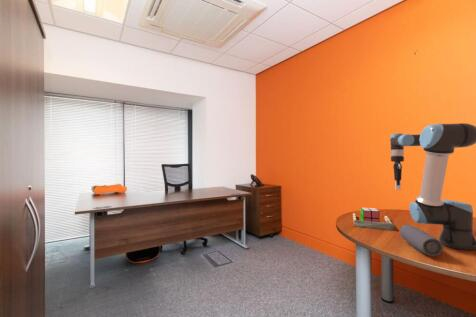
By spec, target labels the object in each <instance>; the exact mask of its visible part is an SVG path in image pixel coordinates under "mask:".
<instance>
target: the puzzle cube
mask: <svg viewBox="0 0 476 317" xmlns="http://www.w3.org/2000/svg"><path fill="white" fill-rule="evenodd" d="M380 217H381V216H380V210H378V209H377V208H374V207H360V221H370V222H381V221H380Z"/></svg>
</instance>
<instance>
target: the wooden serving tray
mask: <svg viewBox="0 0 476 317" xmlns="http://www.w3.org/2000/svg"><path fill="white" fill-rule="evenodd" d="M352 219H353V227H355V226H356V227H357V228H364V227H365V228H366V229H376V230H377V229H378V230H385V231H386V230H387V231H395V223H392V221H391V220H390V218H389V217H388V216H387V215H384V217H383V219H384V220H385V222H381V221H380V222H370V221H361V220H360V219H359V220H358V219H357V216H356V213H355V212H352ZM356 227H355V228H356Z"/></svg>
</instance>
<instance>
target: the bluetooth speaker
mask: <svg viewBox="0 0 476 317" xmlns="http://www.w3.org/2000/svg"><path fill="white" fill-rule="evenodd" d="M399 236H400V237H401V238H402V239H403V240H405V242H407V243H408V244H410V245H411V247H412V248H413V249H415V250H416V251H417V252H419V253H420V254H425V255H428V256H430V257H437V256H440V255H441V254H442V253H443V250H444V245H443V244H441V242H440V241H439V239H437V238H436V237H434V236H432V235H431V234H429V233H427V232H426V231H424V230H422V229H420V228H419V227H416V226H414V225H410V224H403V225H402V226H401V227H400V228H399Z"/></svg>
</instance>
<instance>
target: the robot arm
mask: <svg viewBox="0 0 476 317" xmlns="http://www.w3.org/2000/svg"><path fill="white" fill-rule="evenodd" d="M389 140H390V151H389V153H390V162H391V163H393V162H394V164H393V166H392V167H393V175H394V176H393V177H394V178H393V179H394V183H395V185H394V187H395V188H394V189H395V191H401V187H402V186H401V185H402V184H401V181H402V172H403V171H402V170H403V165H402V163H401V162H405V156H404V155H405V149H404V148H405V147H421V148H422V149H423V152H424V153H426V156H425V161H424V167H423V174H422V179H421V187H420V193H419V195H418V196H415V201H411V202H410V203H409V206H408V207H409V212H410V216H411V218H412V220H413V221H414V222H416V223H417V224H422V225H423V224H424V225H437V226H438V225H440V226H442V229H441V232H440V234H439V237H438V240H439V241H440V242H441V244H442V246H445V247H448V248H452V249H458V250H463V251H476V237H475V234H474V209H473V208H474V207H473V206H472V204H470V203H467V202H463V201H458V200H452V199H451V200H450V199H441V198H442V194H443V188H444V183H445V178H446V173H447V168H448V162H449V158H450V157H449V156H450V155H452V154H454V152H455V148H468V147H471V146H473V145H475V144H476V126H475V125H473V124H471V123H464V122H463V123H462V122H460V123H437V124H429V125H428V124H427V126H425V127H424V128H423V129H422V131H421V133H420V134H409V133H400V132H399V133H392V134H391V135H390V139H389Z"/></svg>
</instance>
